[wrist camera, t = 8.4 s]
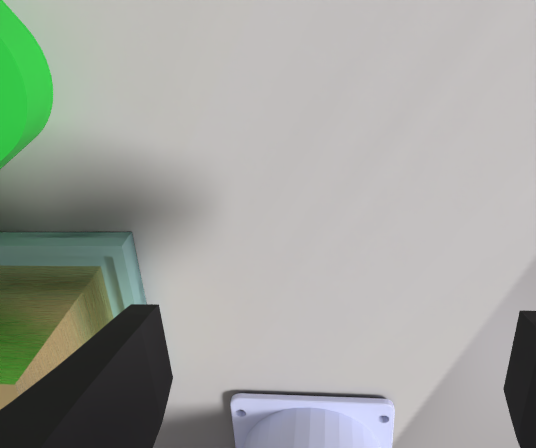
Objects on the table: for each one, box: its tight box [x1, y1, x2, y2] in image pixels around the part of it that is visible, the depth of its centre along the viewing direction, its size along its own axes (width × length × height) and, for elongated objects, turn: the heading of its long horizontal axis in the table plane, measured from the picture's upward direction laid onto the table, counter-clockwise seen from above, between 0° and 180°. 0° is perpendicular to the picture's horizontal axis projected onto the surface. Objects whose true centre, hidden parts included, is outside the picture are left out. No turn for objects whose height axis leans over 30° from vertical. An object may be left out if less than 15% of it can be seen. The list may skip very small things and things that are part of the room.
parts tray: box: [0, 232, 146, 318], centre depth 24 cm, size 8×8×1 cm
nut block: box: [0, 265, 114, 410], centre depth 21 cm, size 5×5×7 cm
